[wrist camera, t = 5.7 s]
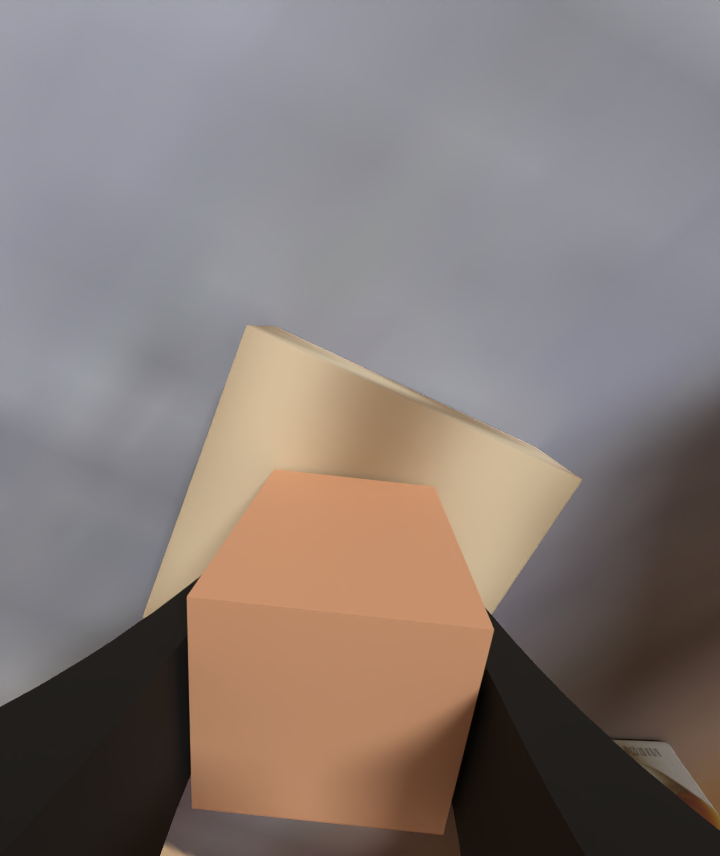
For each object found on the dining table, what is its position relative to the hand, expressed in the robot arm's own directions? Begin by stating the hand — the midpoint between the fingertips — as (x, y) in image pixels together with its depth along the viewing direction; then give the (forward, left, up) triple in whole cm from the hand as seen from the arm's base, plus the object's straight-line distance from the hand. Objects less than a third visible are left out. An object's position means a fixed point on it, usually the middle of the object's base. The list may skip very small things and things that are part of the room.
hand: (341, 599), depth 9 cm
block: (0, 0, -2) cm, 2 cm away
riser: (0, 0, -5) cm, 5 cm away
